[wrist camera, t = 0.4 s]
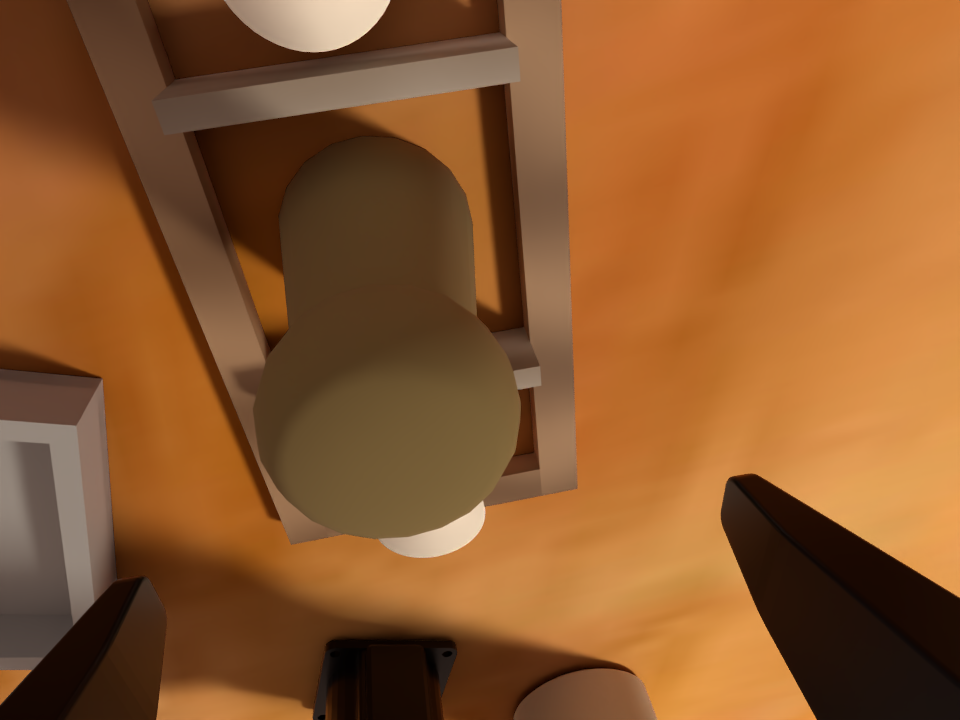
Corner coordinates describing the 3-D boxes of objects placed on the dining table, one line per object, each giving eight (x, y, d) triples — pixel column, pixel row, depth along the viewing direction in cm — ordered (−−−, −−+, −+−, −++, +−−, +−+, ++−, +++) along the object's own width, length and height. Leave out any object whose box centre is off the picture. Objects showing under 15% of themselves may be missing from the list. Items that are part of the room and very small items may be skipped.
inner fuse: (469, 448, 26) (490, 545, 22) (380, 465, 26) (385, 566, 22) (458, 376, 24) (479, 468, 20) (361, 393, 24) (362, 491, 20)
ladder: (570, 471, 28) (587, 515, 26) (293, 525, 27) (287, 575, 25) (538, -321, 14) (569, -361, 12) (-22, -260, 13) (-90, -292, 11)
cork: (270, 302, 21) (208, 580, 12) (288, 115, 18) (223, 302, 9) (449, 327, 23) (509, 589, 14) (493, 158, 20) (606, 354, 11)
